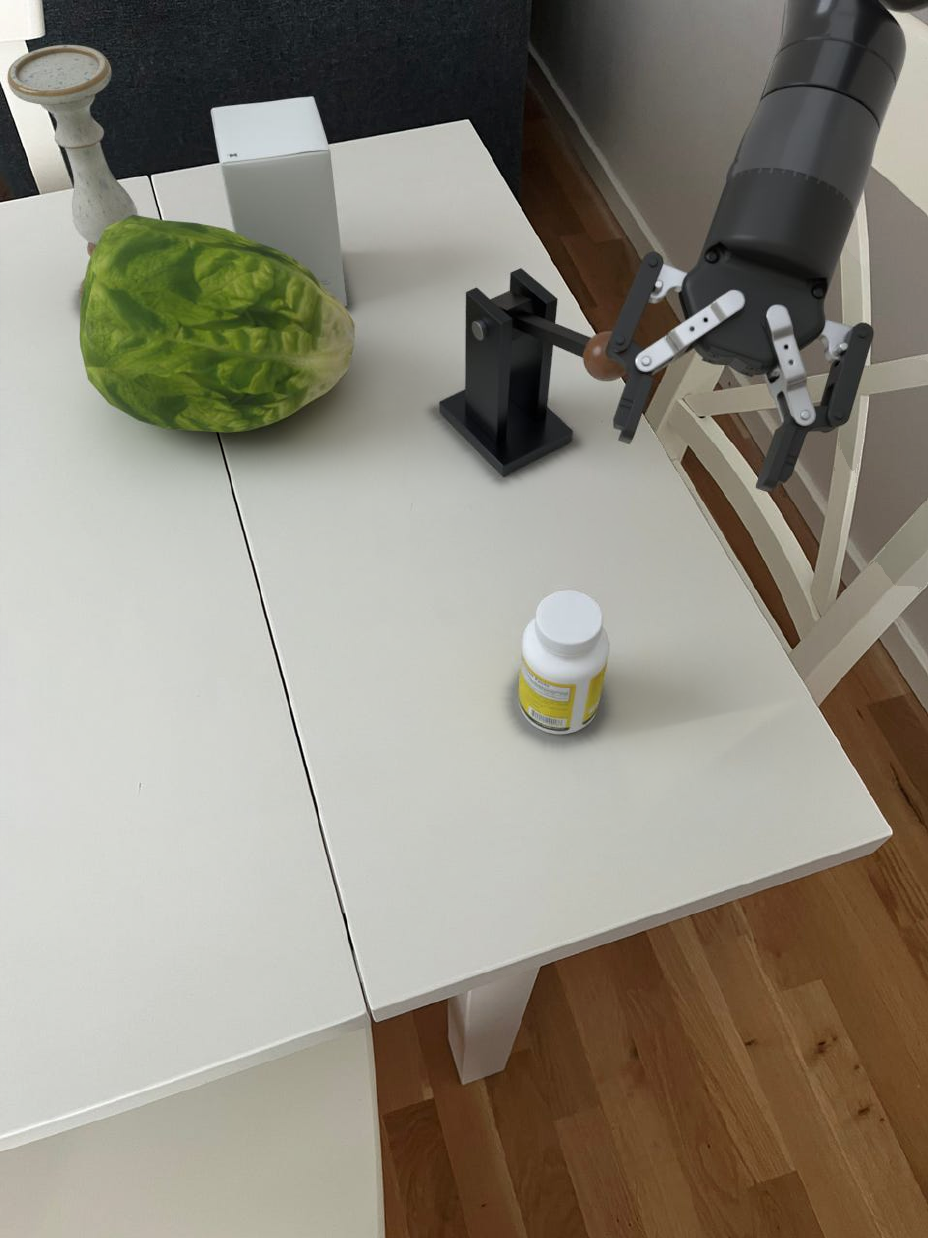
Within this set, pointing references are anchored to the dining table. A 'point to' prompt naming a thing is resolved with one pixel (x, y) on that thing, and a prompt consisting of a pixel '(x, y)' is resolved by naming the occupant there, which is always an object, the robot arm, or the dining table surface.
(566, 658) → the supplement bottle
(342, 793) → the dining table surface
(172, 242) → the lettuce
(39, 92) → the candle holder
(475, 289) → the bracket
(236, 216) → the rectangular carton
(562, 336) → the lever
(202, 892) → the dining table surface
